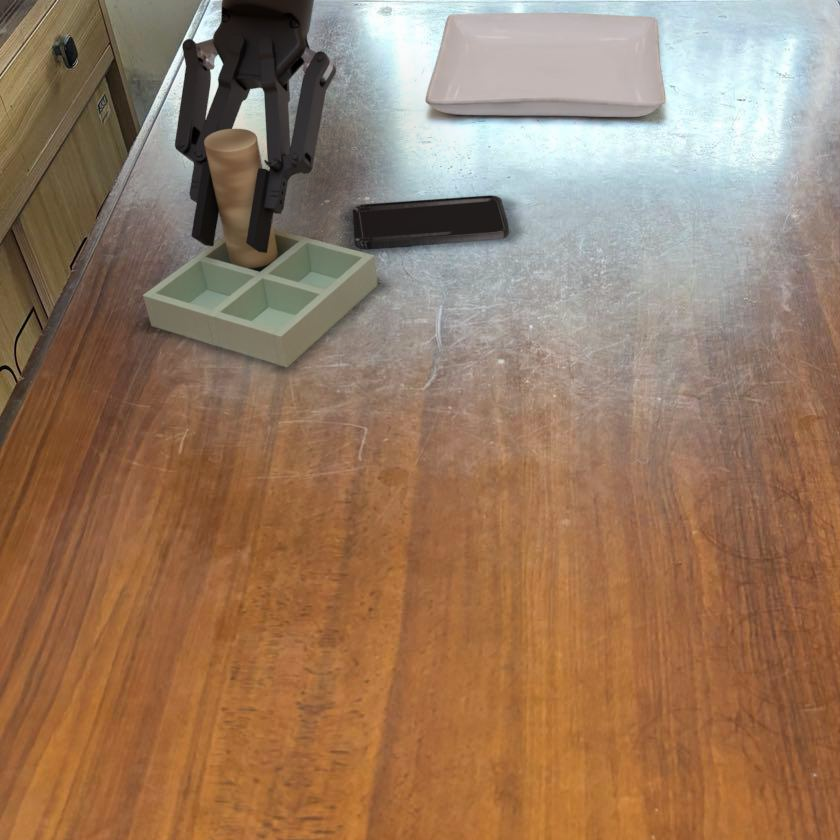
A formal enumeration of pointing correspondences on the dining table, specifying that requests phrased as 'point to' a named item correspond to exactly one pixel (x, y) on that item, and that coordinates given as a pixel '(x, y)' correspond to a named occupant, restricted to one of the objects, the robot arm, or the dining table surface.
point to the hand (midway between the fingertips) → (229, 244)
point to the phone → (429, 222)
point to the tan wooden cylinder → (237, 192)
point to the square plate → (548, 65)
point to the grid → (263, 297)
